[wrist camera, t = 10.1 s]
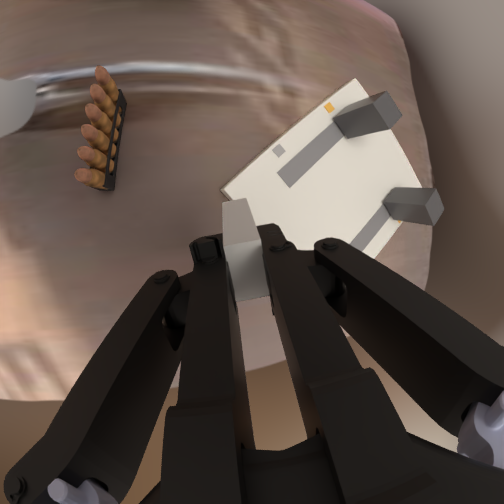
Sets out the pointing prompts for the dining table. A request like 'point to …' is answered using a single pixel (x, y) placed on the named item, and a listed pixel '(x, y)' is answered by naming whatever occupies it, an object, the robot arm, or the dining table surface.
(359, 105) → the block
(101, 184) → the ammunition clip
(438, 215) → the block
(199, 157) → the dining table surface
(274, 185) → the switch panel
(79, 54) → the dining table surface
